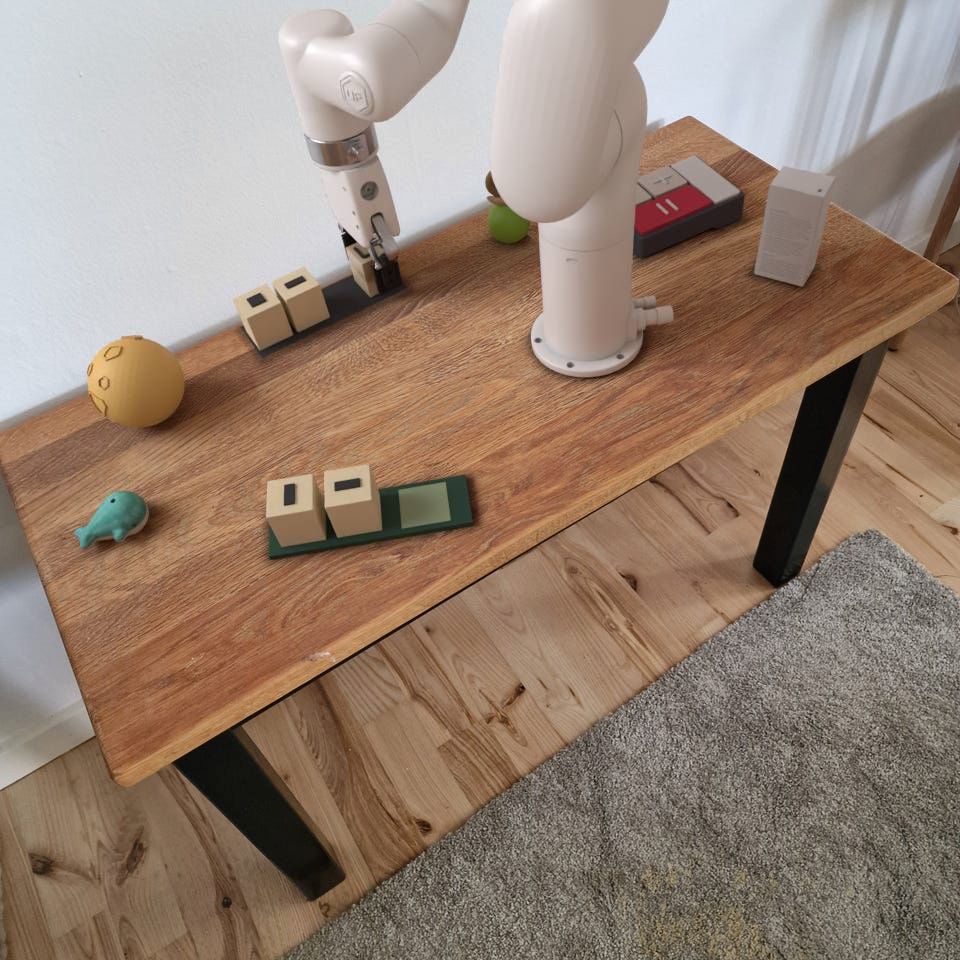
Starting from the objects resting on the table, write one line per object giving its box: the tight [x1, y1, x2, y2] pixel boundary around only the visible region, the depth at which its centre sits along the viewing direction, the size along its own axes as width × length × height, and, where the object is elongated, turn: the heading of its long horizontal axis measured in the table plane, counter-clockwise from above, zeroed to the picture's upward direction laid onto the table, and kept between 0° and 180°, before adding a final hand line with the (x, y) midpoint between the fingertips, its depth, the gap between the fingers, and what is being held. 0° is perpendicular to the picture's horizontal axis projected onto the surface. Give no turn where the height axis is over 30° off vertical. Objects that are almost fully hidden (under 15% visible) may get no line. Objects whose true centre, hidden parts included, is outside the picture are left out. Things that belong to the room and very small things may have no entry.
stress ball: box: [86, 334, 186, 429], centre depth 90 cm, size 10×10×10 cm
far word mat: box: [232, 266, 409, 359], centre depth 100 cm, size 20×7×6 cm, turn 123°
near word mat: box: [265, 463, 474, 561], centre depth 79 cm, size 20×6×6 cm, turn 98°
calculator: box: [633, 154, 746, 259], centre depth 105 cm, size 11×4×15 cm
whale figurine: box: [74, 490, 150, 551], centre depth 83 cm, size 6×7×4 cm
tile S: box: [345, 233, 384, 297], centre depth 102 cm, size 4×4×5 cm
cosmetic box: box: [753, 165, 837, 288], centre depth 93 cm, size 6×4×12 cm
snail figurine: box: [484, 170, 531, 245], centre depth 103 cm, size 5×6×12 cm
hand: (374, 272), depth 103 cm, fingers open, 7 cm apart
